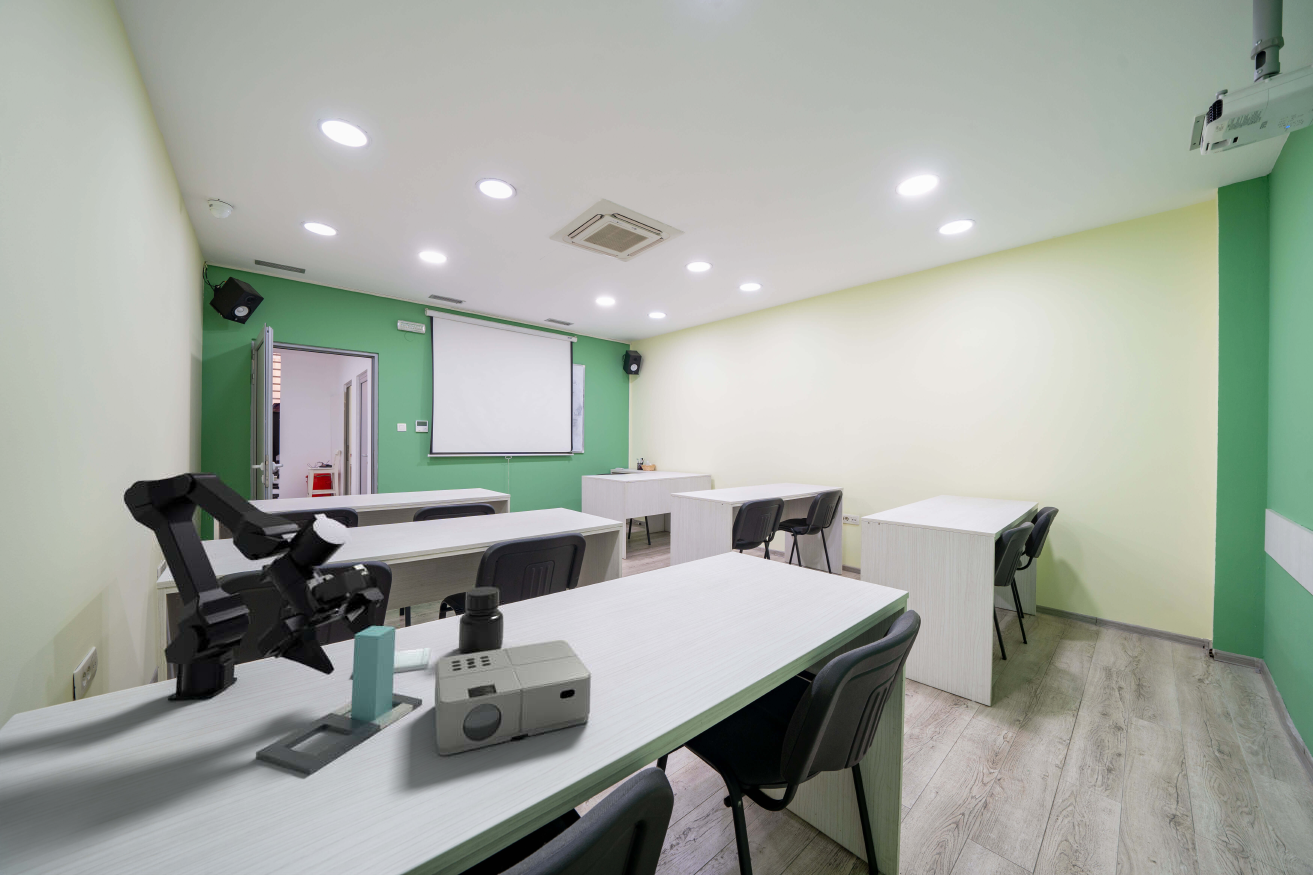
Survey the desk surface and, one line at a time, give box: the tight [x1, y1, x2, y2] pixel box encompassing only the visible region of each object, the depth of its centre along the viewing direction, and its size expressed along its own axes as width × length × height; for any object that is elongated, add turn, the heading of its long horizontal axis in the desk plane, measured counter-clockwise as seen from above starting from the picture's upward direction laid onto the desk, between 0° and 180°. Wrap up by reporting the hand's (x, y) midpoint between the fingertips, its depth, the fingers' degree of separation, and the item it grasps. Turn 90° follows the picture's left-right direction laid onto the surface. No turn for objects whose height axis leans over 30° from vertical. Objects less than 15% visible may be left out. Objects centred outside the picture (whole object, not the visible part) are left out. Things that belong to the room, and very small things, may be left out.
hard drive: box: [394, 647, 432, 674], centre depth 93 cm, size 2×8×12 cm
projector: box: [434, 639, 592, 756], centre depth 77 cm, size 17×22×8 cm
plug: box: [350, 625, 396, 722], centre depth 76 cm, size 4×4×13 cm
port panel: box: [255, 692, 423, 776], centre depth 71 cm, size 18×10×1 cm, turn 162°
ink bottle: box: [458, 586, 504, 655], centre depth 102 cm, size 10×9×12 cm
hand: (356, 659), depth 76 cm, fingers open, 9 cm apart
